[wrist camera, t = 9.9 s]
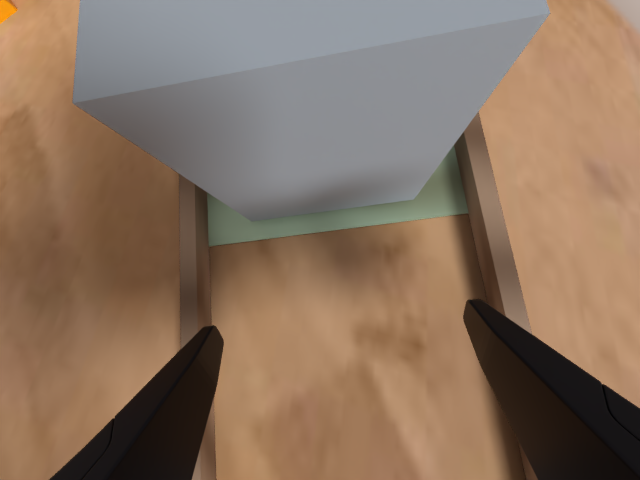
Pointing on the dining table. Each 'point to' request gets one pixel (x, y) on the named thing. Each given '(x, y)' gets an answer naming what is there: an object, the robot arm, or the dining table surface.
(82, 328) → the dining table surface
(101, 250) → the dining table surface
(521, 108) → the dining table surface
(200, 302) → the channel
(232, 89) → the slate block
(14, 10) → the flat orange slab
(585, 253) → the dining table surface
